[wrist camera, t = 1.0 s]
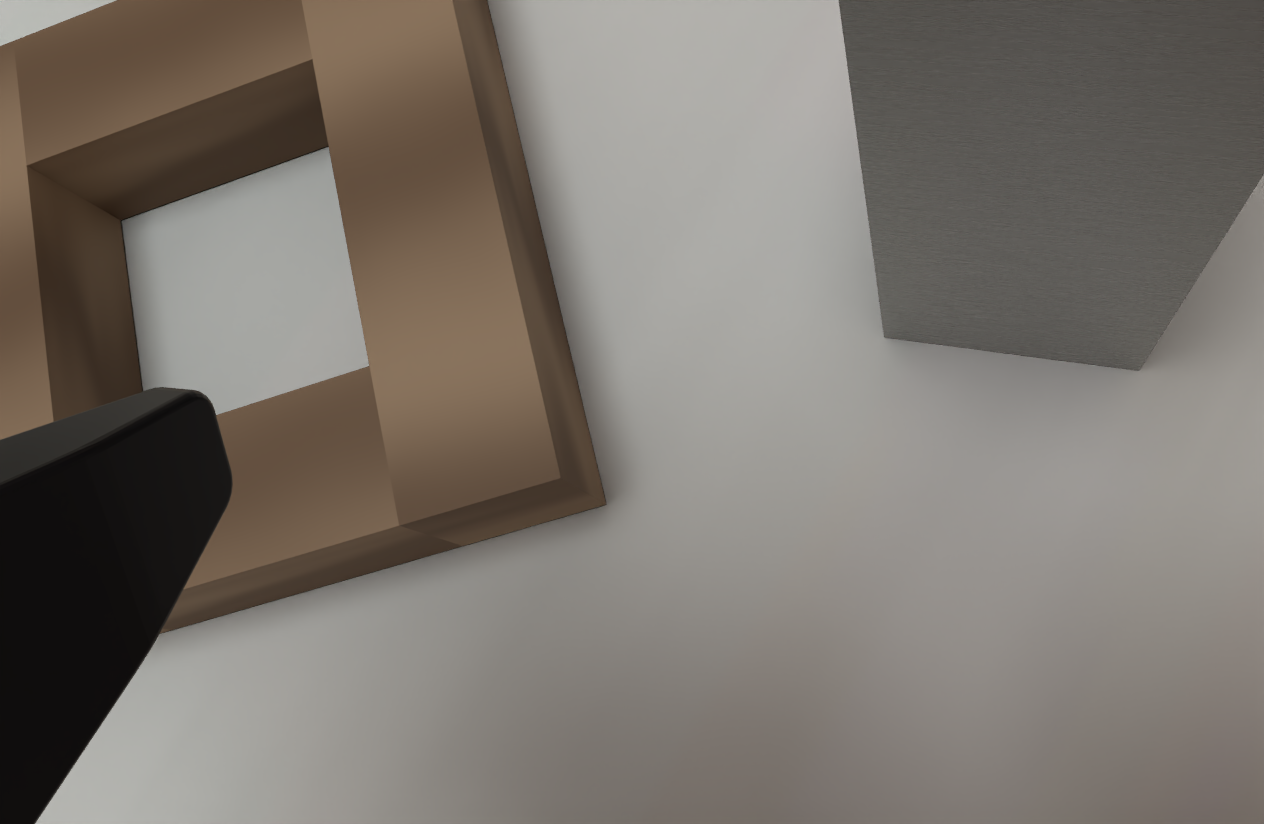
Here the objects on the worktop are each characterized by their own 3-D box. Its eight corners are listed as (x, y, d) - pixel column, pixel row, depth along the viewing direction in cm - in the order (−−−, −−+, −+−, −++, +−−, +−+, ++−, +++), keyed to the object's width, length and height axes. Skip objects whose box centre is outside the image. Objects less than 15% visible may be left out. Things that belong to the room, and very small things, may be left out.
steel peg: (1139, 370, 21) (1371, 4, 10) (884, 337, 23) (835, -23, 11) (1170, 137, 22) (1418, -446, 11) (922, 117, 23) (912, -427, 12)
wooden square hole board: (606, 504, 23) (561, 477, 20) (47, 666, 25) (-65, 662, 22) (478, -34, 27) (424, -121, 24) (-4, 148, 29) (-106, 88, 26)
